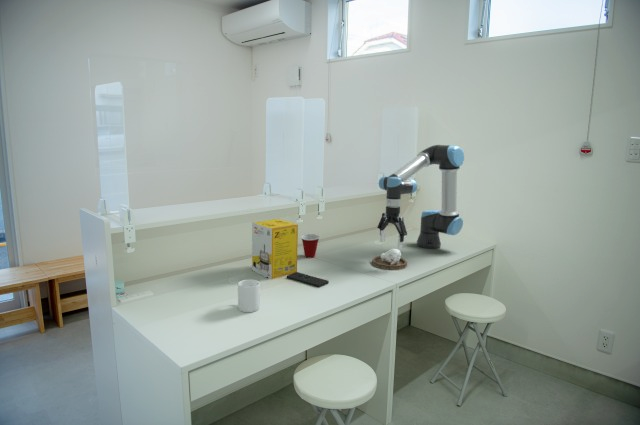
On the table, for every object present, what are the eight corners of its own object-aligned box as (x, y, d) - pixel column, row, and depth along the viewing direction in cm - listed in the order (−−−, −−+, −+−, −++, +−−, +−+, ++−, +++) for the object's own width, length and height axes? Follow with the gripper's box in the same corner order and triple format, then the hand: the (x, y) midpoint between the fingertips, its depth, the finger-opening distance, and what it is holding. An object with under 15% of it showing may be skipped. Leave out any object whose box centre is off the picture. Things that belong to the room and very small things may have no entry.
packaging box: (252, 270, 216) (252, 222, 212) (277, 264, 227) (278, 218, 222) (270, 279, 205) (271, 228, 200) (297, 272, 215) (297, 224, 211)
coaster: (389, 257, 245) (390, 254, 245) (413, 266, 231) (413, 262, 230) (365, 262, 235) (365, 258, 235) (389, 271, 220) (389, 268, 220)
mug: (247, 300, 179) (247, 275, 177) (264, 309, 171) (264, 283, 168) (229, 305, 173) (229, 280, 171) (246, 315, 165) (246, 288, 163)
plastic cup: (296, 257, 241) (297, 236, 239) (306, 252, 250) (306, 232, 248) (313, 260, 236) (314, 239, 234) (322, 255, 245) (323, 235, 243)
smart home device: (296, 271, 213) (329, 280, 201) (296, 274, 213) (329, 284, 202) (286, 275, 206) (318, 285, 195) (285, 279, 207) (318, 288, 195)
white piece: (395, 250, 225) (377, 247, 234) (395, 266, 226) (377, 262, 235) (402, 248, 229) (384, 245, 238) (402, 263, 230) (384, 260, 239)
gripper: (372, 203, 235) (370, 240, 239) (405, 210, 215) (402, 251, 219) (382, 202, 239) (380, 238, 243) (415, 209, 219) (413, 249, 223)
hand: (391, 244), depth 231 cm, fingers open, 13 cm apart
